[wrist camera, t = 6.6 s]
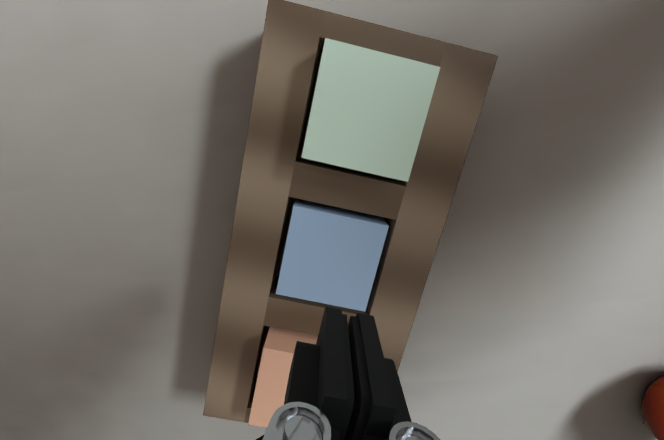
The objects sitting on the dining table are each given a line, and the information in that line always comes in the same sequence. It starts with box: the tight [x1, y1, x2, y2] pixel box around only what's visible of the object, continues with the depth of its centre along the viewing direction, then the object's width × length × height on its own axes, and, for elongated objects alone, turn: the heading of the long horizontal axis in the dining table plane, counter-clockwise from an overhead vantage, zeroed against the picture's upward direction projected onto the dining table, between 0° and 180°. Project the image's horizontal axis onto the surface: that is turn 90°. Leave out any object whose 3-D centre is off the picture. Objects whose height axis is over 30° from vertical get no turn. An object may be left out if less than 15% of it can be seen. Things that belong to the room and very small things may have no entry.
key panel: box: [203, 0, 498, 423], centre depth 21 cm, size 26×12×4 cm, turn 167°
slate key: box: [276, 198, 389, 312], centre depth 21 cm, size 6×6×3 cm
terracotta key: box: [248, 327, 318, 427], centre depth 21 cm, size 6×6×3 cm
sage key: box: [301, 38, 440, 182], centre depth 17 cm, size 6×6×3 cm
